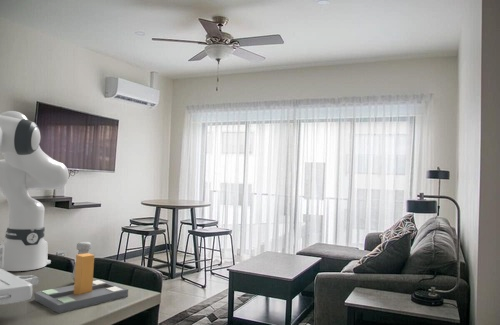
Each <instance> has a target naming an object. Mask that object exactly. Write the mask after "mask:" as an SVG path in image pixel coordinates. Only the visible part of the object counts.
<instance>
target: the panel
mask: <svg viewBox="0 0 500 325" xmlns="http://www.w3.org/2000/svg"><path fill="white" fill-rule="evenodd" d="M128 296H129V289H128V288H126V287H123V286H121V285H118V284H115V283H112V282H110V281H108V280H105V279H97V280H93V286H92V292H88V293H83V294H79V295H75V294H74V284H73V285H71V284H70V285H68V286H67V285H66V286H61V287H56V288H50V289H46V290H41V291H40V290H39V291H35V292H34V297H33V298H34V299H33V300H34V301H35V302H37V303H40V304H41V305H43V306H44V307H46V308H48V309H50V310H52V311H54V312H55V313H57V314H61V313H65V312H70V311H73V310H78V309H81V308H85V307H86V308H87V307H89V306H93V305H97V304H101V303H106V302H109V301H113V300H118V299H123V298H126V297H128Z"/></svg>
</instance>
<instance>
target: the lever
mask: <svg viewBox="0 0 500 325" xmlns="http://www.w3.org/2000/svg"><path fill="white" fill-rule="evenodd" d="M75 263H76V267H75V266H74V267H75V282H74V281H73V282H74V284H73V285H74V294H75V295H79V294H83V293H88V292H92V286H93V281H94V269H95V268H94V267H95V254H92V253H90V252H89V253H86V254H78V253H77V254H76V255H75Z"/></svg>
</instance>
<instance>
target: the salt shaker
mask: <svg viewBox="0 0 500 325" xmlns="http://www.w3.org/2000/svg"><path fill="white" fill-rule="evenodd" d="M91 249H92V243H91V242H90V241H80V242H77V243H76V250H78V252H77V255H78V254H86V253H89V254H90V250H91ZM75 267H76V262H75V264H74V267H73V270H72V275H71V277H72V280H73V282H75Z"/></svg>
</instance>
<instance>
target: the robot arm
mask: <svg viewBox="0 0 500 325" xmlns="http://www.w3.org/2000/svg"><path fill="white" fill-rule="evenodd" d="M40 143H41V129H40V127H39V126H38V124H36V122H34V121H31V120H29V119H28V117H27V116H26V115H25V114H23V112H19V111H17V110H16V111H15V110H7V111H3V112H1V113H0V155H1V154H2V157H3V159H0V192H1V193H2V194H3V195H4V197H5V199H6V201H7V204H8V205H7V206H8V226H7V229H6V231H5V235H4V238H5V239H4V240H3V241H2V242H1V243H0V305H8V304H15V303H22V302H26V301H29V300H31V299H32V298H33V291H34V290H33V286H35V285H38V284H39V282H40V278H39V277H38V276H36V275H34V274H31V275H15V274H13V273H12V272H21V271H22V272H23V271H33V270H37V269H42V268H44V267H46V266H47V265H50V264H52V263H51V262H52V260H51V259H48V241H46V240H45V238H44V237H45V233H46V231H45V229H46V227H45V226H44V225H45V211H46V210H45V206H44V204H43V203H42V202H41V201H39V200H37V199H36V198H33V197H31V195H30V194H29V193H30V192H29V190H35V191H37V190H38V191H50V190H51V191H52V190H57V189H58V190H59V189H62V188H64V186H66V184H67V183H68V181H69V177H70V176H69V175H70V173H69V169H68V167H67V166H66V165H65V164H64V163H63V162H60V161H58V160H56V159H54V158H52V157H50V155H48V154H47V153H45V152H44V151H43V149H42V148H41V146H40Z"/></svg>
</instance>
